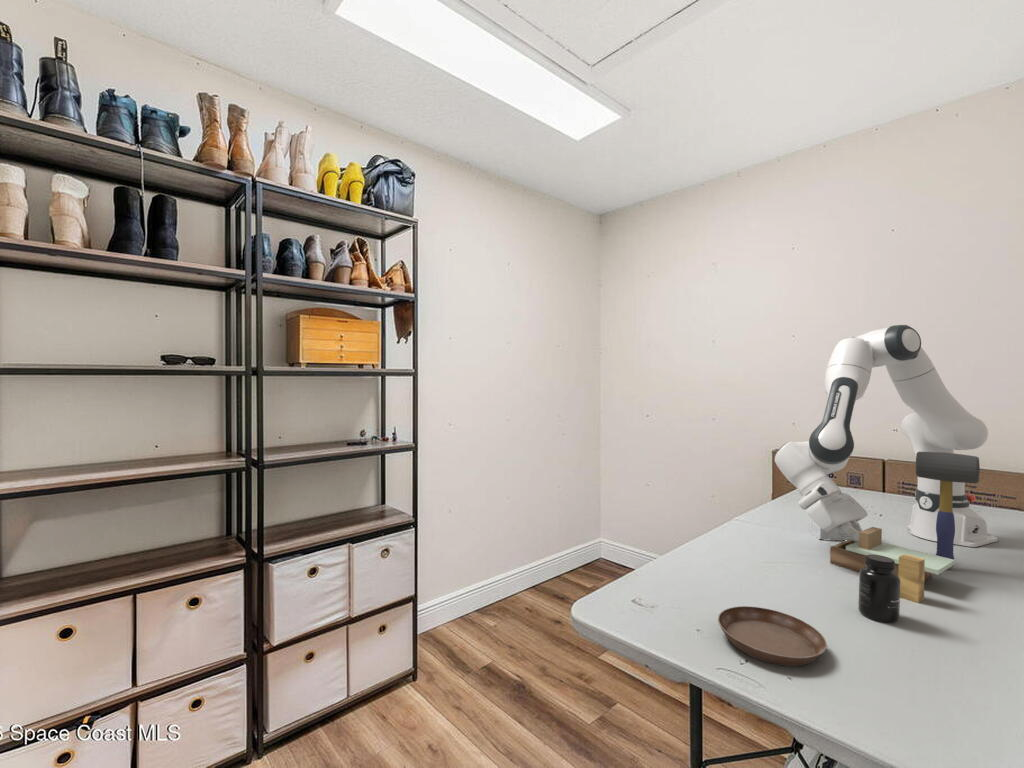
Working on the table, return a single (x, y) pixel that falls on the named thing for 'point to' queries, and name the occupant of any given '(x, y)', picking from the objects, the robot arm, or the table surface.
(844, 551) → the wooden box base
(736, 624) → the plant saucer
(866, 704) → the table surface
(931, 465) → the rubber mallet
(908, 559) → the light wooden block
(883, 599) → the supplement bottle
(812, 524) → the light bulb box
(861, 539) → the lid
